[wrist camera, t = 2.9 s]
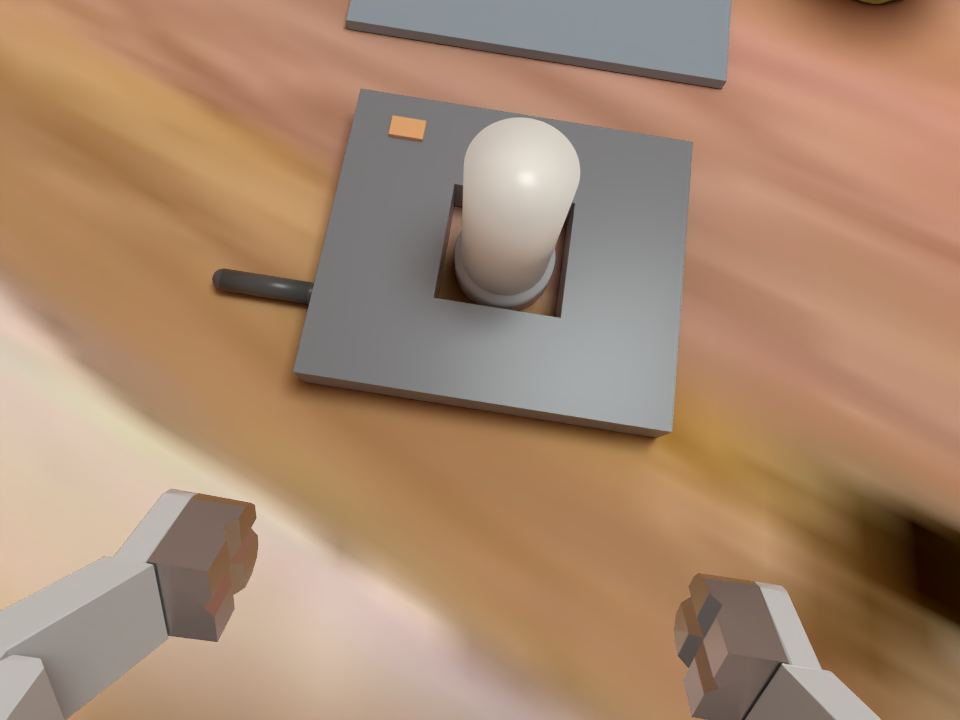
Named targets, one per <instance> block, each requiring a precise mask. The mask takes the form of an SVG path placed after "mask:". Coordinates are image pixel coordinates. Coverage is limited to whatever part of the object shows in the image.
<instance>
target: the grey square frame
mask: <svg viewBox="0 0 960 720" xmlns="http://www.w3.org/2000/svg"><path fill="white" fill-rule="evenodd" d="M508 118H531V119H536V120H539V121H542V122H545V123H547V124H549V125H551V126H553V127H554V128H556V129H557V130H559V131H560V132H561V133H562V134H563V135H564V136H565V137H566V138H567V139H568V140H569V141H570V143H571V144H572V145H573V147H574V149H575V151H576V153H577V156H578V159H579V163H580V180H579V185H578V187H577V190H576V193H575V196H574V198H573V201H572V203H571V206H570V209H569V211H568V214H567V217H566V219H565V222H564V223H566V224H567V229H566V237H565V245H564V252H563V260H562V268H561V276H560V284H559V292H558V299H557V307H556V315H555V317H552V316H545V315H539V314H533V313H527V312H520V311H514V310H508V309H501V308H495V307H489V306H483V305H476V304H470V303H464V302H458V301H451V300H445V299H439V298H438V293H439V287H440V282H441V276H442V271H443V266H444V260H445V255H446V249H447V244H448V238H449V233H450V227H451V222H452V216H453V211H454V206H460V207H463V173H464V159H465V155H466V152H467V149H468V147H469V145H470V143H471V142H472V140H473V139H474V138H475V136H476V135H477V134H478V133H479V132H480V131H482V130H483V129H484V128H486V127H487V126H489V125H491V124H493V123H495V122H497V121H500V120H504V119H508ZM692 147H693V142H690V141H684V140H678V139H672V138H665V137H659V136H653V135H647V134H640V133H634V132H628V131H622V130H615V129H609V128H603V127H597V126H591V125H584V124H578V123H572V122H566V121H559V120H553V119H547V118H541V117H534V116H528V115H522V114H516V113H510V112H503V111H497V110H491V109H485V108H478V107H472V106H466V105H460V104H453V103H447V102H441V101H435V100H429V99H422V98H416V97H410V96H404V95H397V94H391V93H385V92H379V91H372V90H366V89H360V94H359V98H358V102H357V106H356V110H355V115H354V119H353V123H352V127H351V131H350V135H349V140H348V144H347V148H346V152H345V156H344V161H343V165H342V169H341V173H340V177H339V181H338V186H337V190H336V194H335V198H334V202H333V206H332V211H331V215H330V219H329V223H328V227H327V232H326V236H325V240H324V244H323V248H322V252H321V257H320V261H319V265H318V269H317V273H316V278H315V282H314V283H311V282H305V281H299V280H293V279H286V278H280V277H274V276H267V275H261V274H255V273H249V272H242V271H236V270H230V269H219V270H217V271H216V272H215V273H214V275H213V278H212V280H213V284H214V285H215V287H216V288H218V289H219V290H223V291H229V292H235V293H241V294H248V295H254V296H260V297H266V298H273V299H279V300H285V301H292V302H298V303H304V304H309V307H308V311H307V315H306V319H305V324H304V328H303V332H302V336H301V340H300V344H299V349H298V353H297V357H296V361H295V365H294V369H293V372H294V373H295V374H296V375H297V376H298V377H300V378H301V379H302V380H303V381H304V382H308V383H314V384H321V385H327V386H333V387H340V388H346V389H352V390H358V391H365V392H371V393H377V394H384V395H390V396H396V397H402V398H409V399H415V400H421V401H428V402H434V403H440V404H446V405H453V406H459V407H465V408H472V409H478V410H484V411H490V412H497V413H503V414H509V415H516V416H522V417H528V418H534V419H541V420H547V421H553V422H560V423H566V424H572V425H578V426H585V427H591V428H597V429H604V430H610V431H616V432H622V433H629V434H635V435H641V436H648V437H654V438H657V437H660V436H663V435H665V434H668V433H671V432H672V424H673V411H674V397H675V383H676V369H677V355H678V341H679V327H680V314H681V300H682V286H683V272H684V258H685V244H686V231H687V217H688V203H689V189H690V175H691V161H692Z"/></svg>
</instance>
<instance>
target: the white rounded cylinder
mask: <svg viewBox="0 0 960 720" xmlns="http://www.w3.org/2000/svg"><path fill="white" fill-rule="evenodd" d="M579 180H580V163H579V159H578V156H577V153H576V151H575V149H574V147H573V145H572V144H571V143H570V141H569V140H568V139H567V138H566V137H565V136H564V135H563V134H562V133H561V132H560V131H559V130H557V129H556V128H554V127H553V126H551V125H549V124H547V123H545V122H542V121H539V120H536V119H531V118H508V119H504V120H500V121H497V122H495V123H493V124H491V125H489V126H487V127H486V128H484V129H483V130H482V131H480V132H479V133H478V134H477V135H476V136H475V138H474V139H473V140H472V142H471V143H470V145H469V147H468V149H467V152H466V155H465V159H464V173H463V209H462V230H461V232H460V234H459V236H458V238H457V241H456V245H455V275H456V279H457V282H458V284H459V287H460V289H461V290H462V292H463V293H464V294H465V295H466V297H467V298H468V299H469V300H471V301H472V302H473V303H474V304H476V305H483V306H489V307H495V308H501V309H508V310H514V311H519V310H522V309H524V308H526V307H528V306H530V305H531V304H533V303H534V302H535V301H536V300H537V299H538V298H539V297H540V296H541V295H542V294H543V292H544V291H545V289H546V287H547V285H548V282H549V280H550V277H551V275H552V272H553V269H554V265H555V257H556V255H555V246H556V243H557V240H558V238H559V235H560V232H561V230H562V227H563V225H564V222H565V219H566V217H567V214H568V211H569V209H570V206H571V203H572V201H573V198H574V196H575V193H576V190H577V187H578V185H579Z"/></svg>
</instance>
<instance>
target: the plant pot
mask: <svg viewBox="0 0 960 720" xmlns="http://www.w3.org/2000/svg"><path fill="white" fill-rule="evenodd" d="M859 1H862V2H866V3H871V4H881V3H885V2H888V1H891V0H859Z"/></svg>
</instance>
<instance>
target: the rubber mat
mask: <svg viewBox="0 0 960 720" xmlns="http://www.w3.org/2000/svg"><path fill="white" fill-rule="evenodd" d="M730 11H731V0H351V3H350V6H349V10H348V14H347V18H346V22H347V26H348V29H352V30H358V31H364V32H371V33H377V34H383V35H389V36H396V37H402V38H408V39H414V40H420V41H427V42H433V43H439V44H445V45H452V46H458V47H464V48H470V49H476V50H483V51H489V52H495V53H501V54H508V55H514V56H520V57H526V58H532V59H539V60H545V61H551V62H557V63H564V64H570V65H576V66H582V67H588V68H595V69H601V70H607V71H613V72H620V73H626V74H632V75H638V76H644V77H651V78H657V79H663V80H669V81H676V82H682V83H688V84H694V85H700V86H707V87H713V88H719V89H722V87H723V86H724V84H725V83H726V81H727V63H728V46H729V28H730Z"/></svg>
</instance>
